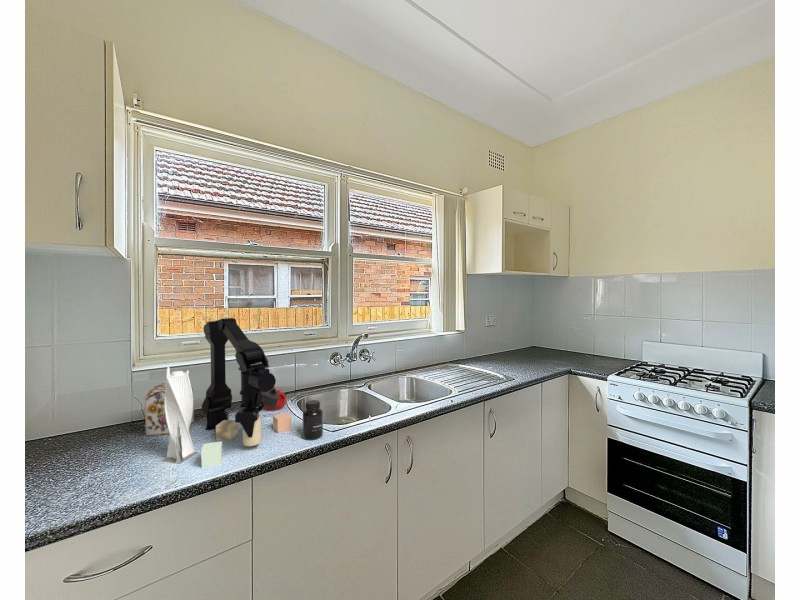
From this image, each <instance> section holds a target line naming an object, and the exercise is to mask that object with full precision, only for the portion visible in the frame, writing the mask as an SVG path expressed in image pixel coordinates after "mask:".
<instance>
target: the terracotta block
mask: <svg viewBox="0 0 800 600" xmlns="http://www.w3.org/2000/svg"><path fill="white" fill-rule="evenodd" d="M292 429H293V428H292V415H290V414H289V413H288V412H283V413H278V414H274V415H272V430H274V431H275V433H277V434H280V433H284V432H288V431H291V430H292Z"/></svg>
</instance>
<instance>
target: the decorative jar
mask: <svg viewBox="0 0 800 600" xmlns="http://www.w3.org/2000/svg"><path fill="white" fill-rule="evenodd" d="M166 382H167V379H165V380H163V381H161V384H158V385H155V386H153V387H151V388H150V389H149V391H148V392H147V394H146V396H145V397H144V405H145V406H144V420H145V436H147V435H149V436H160V435H161V434H165V435H170V433H169V430H168V426H167V422H166V416H165V406H164V400H165V388H166ZM191 388H192V394H193V395H194V388H193V387H192V386H191ZM194 407H195V406H194V404H193V411H192V418H191V422H190V425H192V424H193V423H194V422H193V421H195V411H194V410H195V408H194ZM192 422H193V423H192ZM191 423H192V424H191ZM161 436H162V435H161Z"/></svg>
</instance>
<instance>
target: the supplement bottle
mask: <svg viewBox="0 0 800 600" xmlns="http://www.w3.org/2000/svg"><path fill="white" fill-rule="evenodd" d="M323 434H324V412H323V410H322V409H321V402H320V401H319V400H316V399H313V400H307V401H306V402H305V409H304V411H303V412H302V437H303V439H305V440H307V441H314V440H315V441H316V440H318V438H319V439H321V438H322V437H323Z"/></svg>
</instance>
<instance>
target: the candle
mask: <svg viewBox="0 0 800 600" xmlns="http://www.w3.org/2000/svg"><path fill="white" fill-rule="evenodd" d="M259 415H260V416H259V419H258V420H257V421H255V424H254V430H253V436H252V437H248V436H247V434H246V432H245V430H244V429H243V428H242V443H243V446H245V447H253V446H257V445H259V444H261V443H262V415H261V414H260V413H259Z"/></svg>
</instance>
